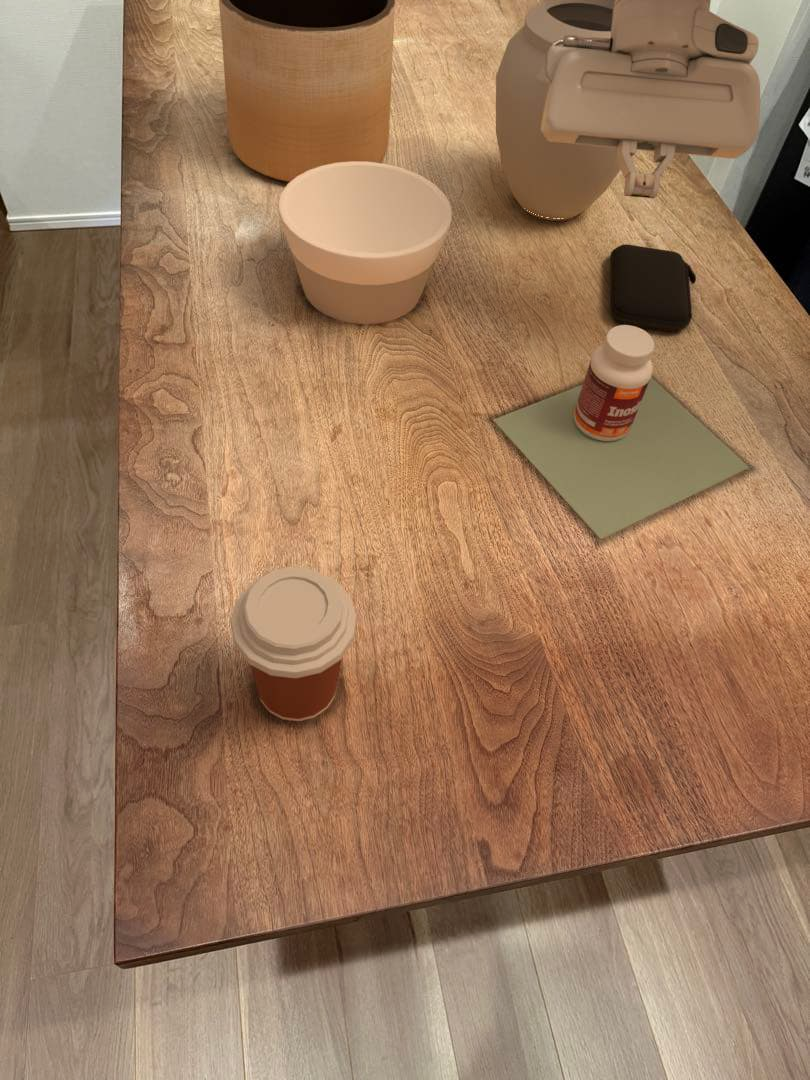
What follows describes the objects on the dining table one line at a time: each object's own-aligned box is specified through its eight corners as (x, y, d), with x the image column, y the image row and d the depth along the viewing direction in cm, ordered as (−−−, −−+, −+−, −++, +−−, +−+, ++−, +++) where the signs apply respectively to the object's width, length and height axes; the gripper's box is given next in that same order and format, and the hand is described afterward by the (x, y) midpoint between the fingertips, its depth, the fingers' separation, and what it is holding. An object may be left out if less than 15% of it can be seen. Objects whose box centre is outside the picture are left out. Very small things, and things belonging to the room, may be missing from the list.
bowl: (248, 281, 104) (241, 197, 95) (365, 224, 113) (368, 143, 105) (359, 363, 96) (362, 280, 88) (474, 294, 106) (488, 213, 97)
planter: (329, 98, 133) (330, -53, 117) (419, 164, 123) (433, 9, 107) (200, 134, 124) (182, -25, 108) (286, 209, 114) (280, 46, 98)
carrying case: (696, 342, 103) (689, 269, 112) (705, 321, 101) (697, 249, 110) (606, 328, 103) (606, 257, 112) (612, 307, 101) (613, 236, 110)
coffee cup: (324, 623, 75) (324, 537, 66) (372, 709, 71) (380, 630, 61) (224, 663, 72) (209, 579, 63) (267, 756, 67) (258, 680, 58)
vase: (484, 244, 112) (517, 42, 93) (472, 164, 124) (499, -29, 105) (632, 250, 114) (695, 53, 95) (606, 171, 126) (657, -18, 107)
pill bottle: (601, 452, 90) (631, 369, 81) (560, 416, 93) (584, 333, 84) (642, 428, 93) (675, 346, 84) (601, 395, 95) (629, 312, 87)
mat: (635, 366, 100) (636, 363, 99) (748, 469, 91) (749, 467, 90) (492, 422, 92) (492, 419, 92) (599, 541, 83) (600, 538, 83)
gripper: (554, 17, 79) (539, 176, 81) (776, 39, 80) (757, 196, 81) (541, 47, 85) (528, 194, 87) (747, 68, 86) (730, 213, 88)
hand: (640, 195), depth 84 cm, fingers closed
